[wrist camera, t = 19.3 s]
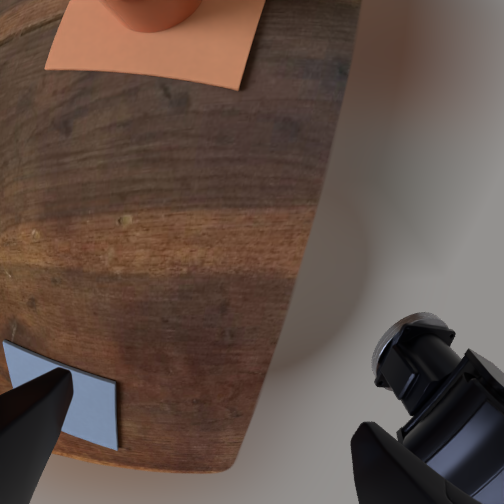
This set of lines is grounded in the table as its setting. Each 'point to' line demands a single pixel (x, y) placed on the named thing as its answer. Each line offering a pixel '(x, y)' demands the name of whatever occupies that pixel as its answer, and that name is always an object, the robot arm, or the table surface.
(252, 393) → the table surface
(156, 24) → the terracotta pot
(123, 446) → the table surface
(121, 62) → the terracotta mat
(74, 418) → the slate mat
